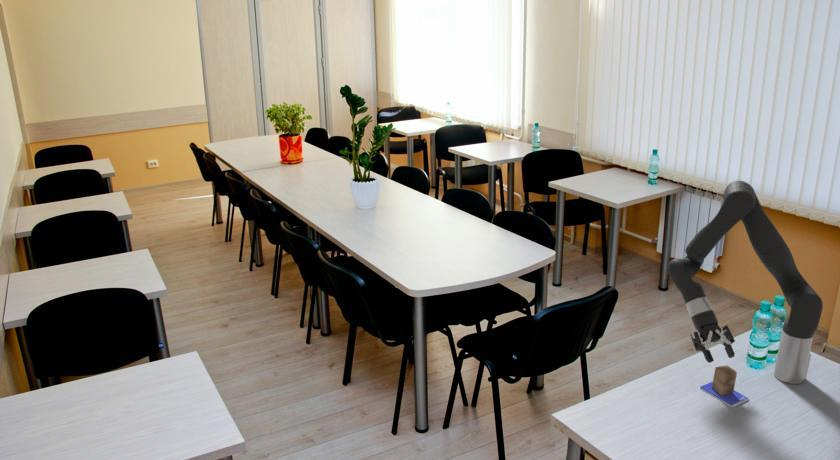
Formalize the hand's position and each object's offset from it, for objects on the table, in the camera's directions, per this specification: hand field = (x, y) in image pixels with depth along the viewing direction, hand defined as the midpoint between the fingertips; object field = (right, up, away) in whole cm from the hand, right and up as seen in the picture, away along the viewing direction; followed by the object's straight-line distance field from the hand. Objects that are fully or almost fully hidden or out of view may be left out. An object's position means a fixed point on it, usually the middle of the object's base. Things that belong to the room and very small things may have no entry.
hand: (721, 359), depth 225 cm
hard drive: (+1, -13, +2) cm, 13 cm away
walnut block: (+1, -11, +2) cm, 11 cm away
